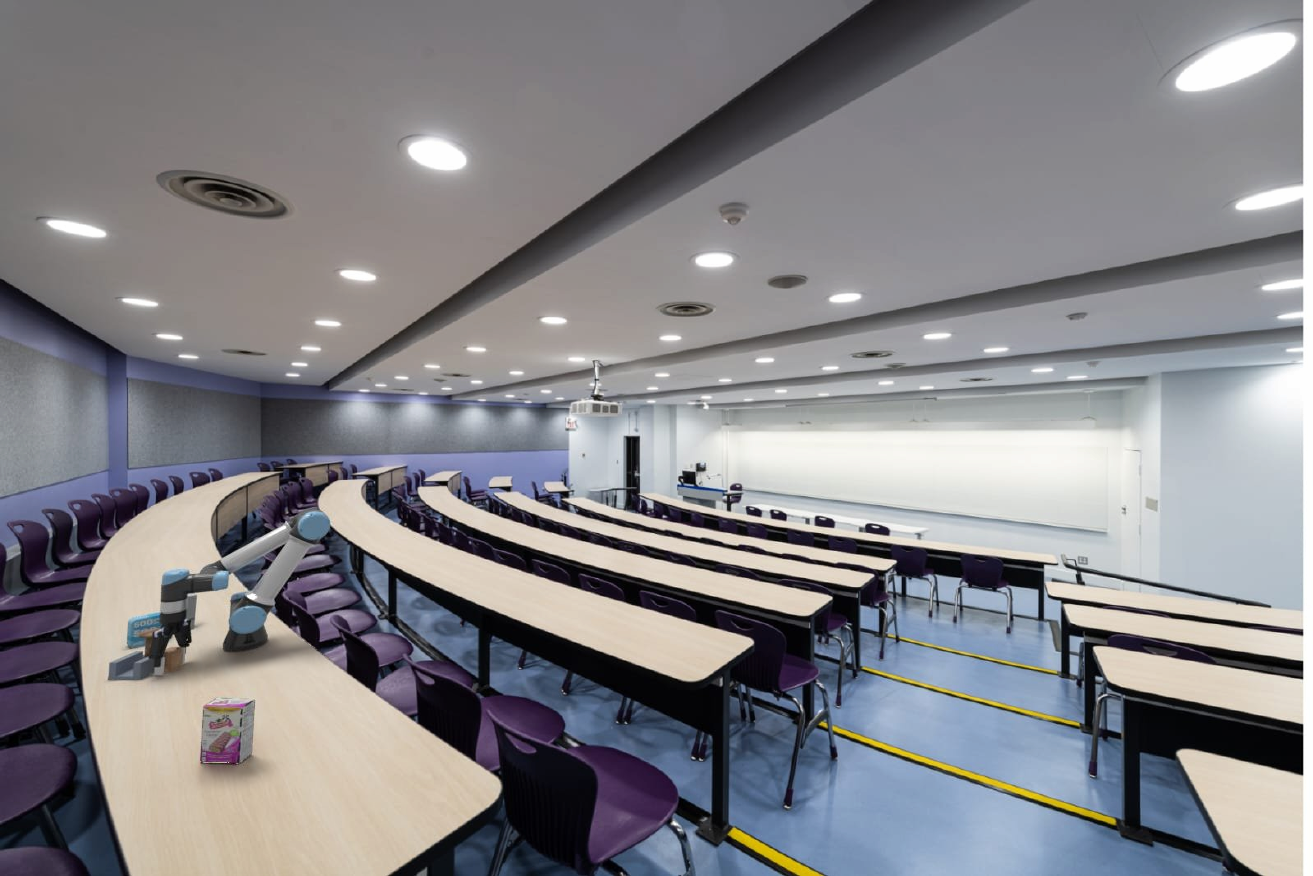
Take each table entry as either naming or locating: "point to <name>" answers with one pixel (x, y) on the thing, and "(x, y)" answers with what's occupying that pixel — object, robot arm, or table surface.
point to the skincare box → (191, 608)
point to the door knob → (147, 640)
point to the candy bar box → (227, 730)
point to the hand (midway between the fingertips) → (169, 669)
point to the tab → (172, 659)
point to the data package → (141, 628)
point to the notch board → (131, 667)
